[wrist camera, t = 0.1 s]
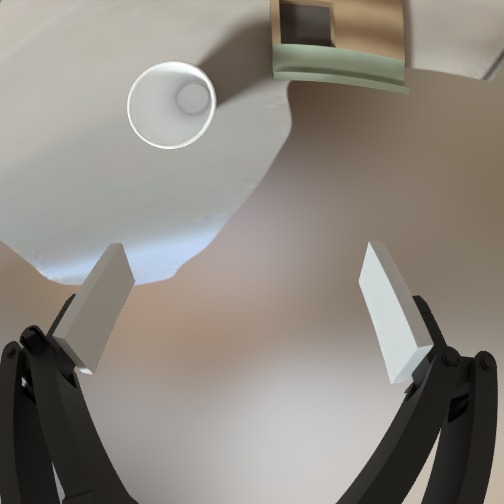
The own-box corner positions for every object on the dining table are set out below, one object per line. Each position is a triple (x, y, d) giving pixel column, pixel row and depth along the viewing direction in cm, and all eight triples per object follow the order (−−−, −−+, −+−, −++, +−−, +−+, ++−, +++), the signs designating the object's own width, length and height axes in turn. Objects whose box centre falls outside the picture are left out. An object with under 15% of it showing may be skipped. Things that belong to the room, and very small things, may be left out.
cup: (217, 56, 29) (200, 46, 20) (237, 119, 35) (228, 133, 26) (152, 80, 31) (115, 83, 22) (172, 139, 37) (144, 160, 28)
